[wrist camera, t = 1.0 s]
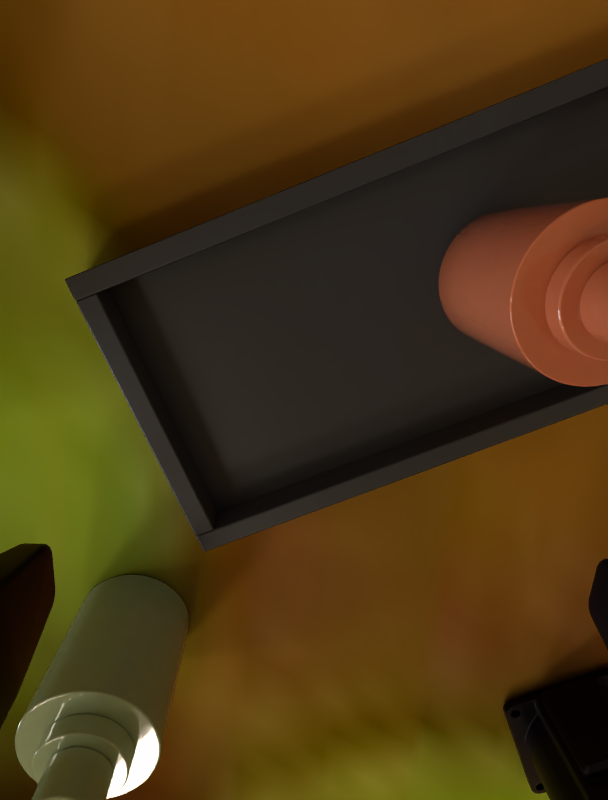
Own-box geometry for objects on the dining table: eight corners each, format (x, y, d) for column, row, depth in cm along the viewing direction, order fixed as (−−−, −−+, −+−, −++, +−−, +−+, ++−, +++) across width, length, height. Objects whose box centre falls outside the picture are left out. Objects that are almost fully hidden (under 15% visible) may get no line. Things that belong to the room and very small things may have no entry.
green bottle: (206, 642, 25) (171, 851, 17) (110, 676, 26) (28, 899, 17) (160, 559, 24) (96, 741, 15) (60, 595, 24) (-60, 795, 15)
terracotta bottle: (578, 315, 21) (790, 370, 12) (458, 361, 21) (583, 445, 13) (550, 188, 19) (769, 150, 11) (421, 239, 20) (535, 241, 11)
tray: (875, 279, 22) (936, 283, 20) (210, 525, 23) (204, 552, 21) (862, -40, 18) (934, -75, 16) (85, 275, 20) (63, 279, 18)
